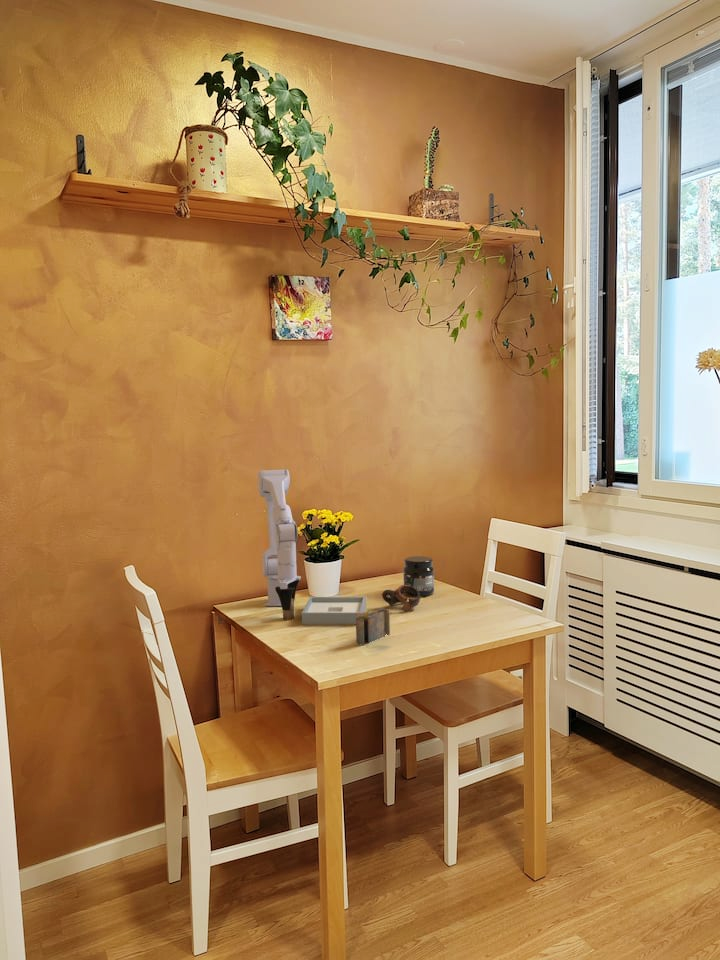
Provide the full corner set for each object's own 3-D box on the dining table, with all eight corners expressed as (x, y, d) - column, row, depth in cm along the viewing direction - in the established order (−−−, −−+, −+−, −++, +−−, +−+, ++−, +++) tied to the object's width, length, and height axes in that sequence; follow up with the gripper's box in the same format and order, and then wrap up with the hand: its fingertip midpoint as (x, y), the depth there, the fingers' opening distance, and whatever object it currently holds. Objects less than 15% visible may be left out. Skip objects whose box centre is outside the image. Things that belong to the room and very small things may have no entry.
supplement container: (406, 588, 257) (405, 555, 255) (436, 590, 254) (436, 556, 253) (400, 596, 246) (400, 561, 245) (432, 598, 244) (431, 562, 243)
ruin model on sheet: (364, 647, 198) (364, 612, 197) (356, 645, 200) (355, 610, 199) (391, 636, 207) (390, 602, 206) (382, 634, 209) (382, 601, 208)
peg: (284, 617, 226) (283, 598, 225) (295, 617, 226) (294, 598, 225) (282, 620, 223) (281, 601, 222) (293, 620, 222) (292, 601, 222)
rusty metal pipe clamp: (413, 603, 240) (421, 585, 235) (415, 624, 232) (423, 605, 227) (378, 596, 238) (385, 577, 234) (378, 616, 230) (386, 597, 226)
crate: (310, 607, 236) (309, 596, 235) (366, 607, 235) (365, 596, 234) (302, 624, 218) (301, 613, 218) (362, 624, 217) (362, 613, 216)
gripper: (296, 567, 215) (297, 613, 216) (303, 557, 229) (304, 600, 231) (272, 568, 215) (274, 613, 217) (281, 557, 230) (282, 600, 231)
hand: (288, 606), depth 224 cm, fingers open, 7 cm apart
